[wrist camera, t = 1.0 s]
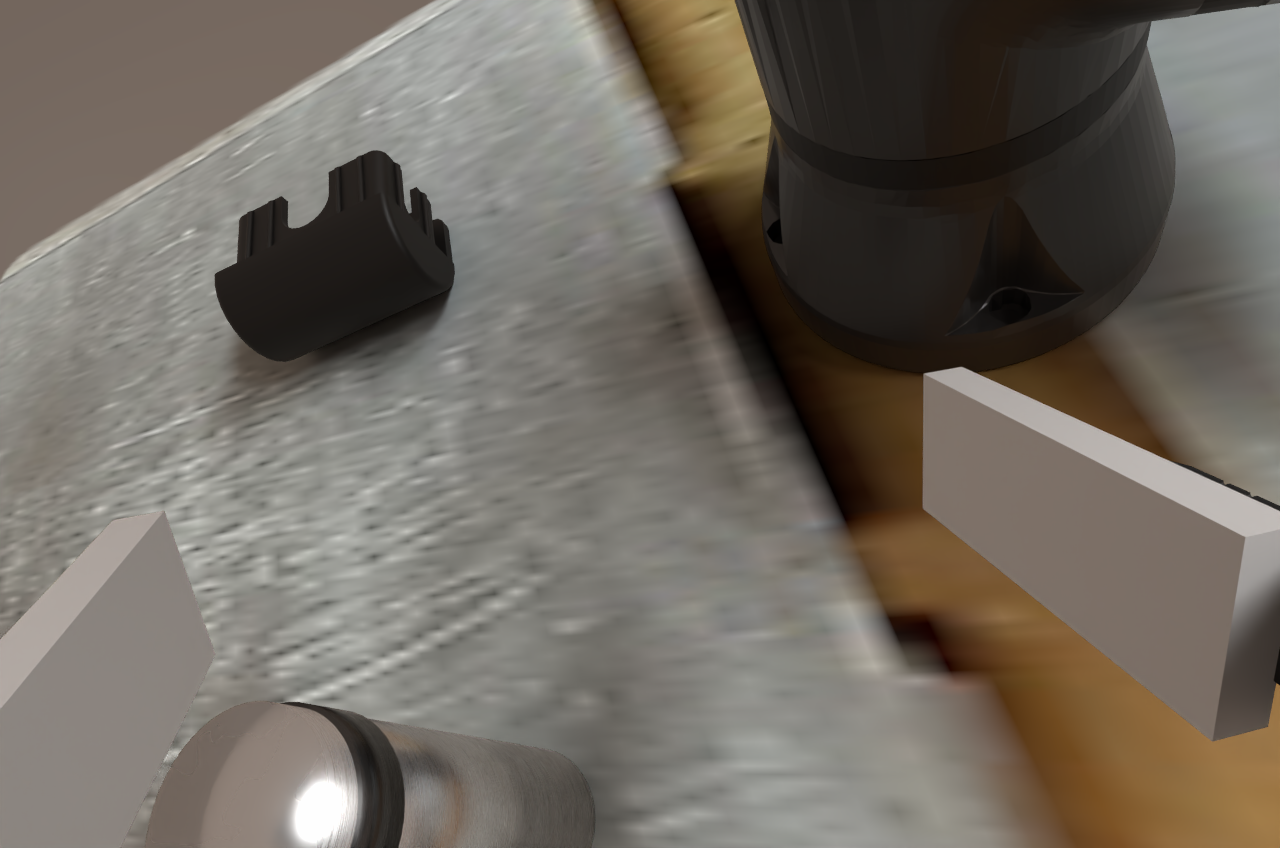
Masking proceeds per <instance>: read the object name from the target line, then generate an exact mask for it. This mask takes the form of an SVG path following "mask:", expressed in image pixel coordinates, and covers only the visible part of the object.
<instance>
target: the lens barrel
mask: <svg viewBox="0 0 1280 848" xmlns="http://www.w3.org/2000/svg"><path fill="white" fill-rule="evenodd" d="M594 830H595V809H594V803H593V798H592V795H591V791H590V789H589V786H588V784H587V782H586V780H585V778H584V776H583V774H582V773H581V772H580V770H579V769H578V768H577V767H576V766H575V764H574V763H573V762H572V761H570V760H569V759H568V758H566V757H565V756H563V755H561V754H560V753H558V752H555V751H552V750H548V749H543V748H537V747H531V746H526V745H520V744H514V743H508V742H502V741H496V740H490V739H485V738H479V737H473V736H467V735H461V734H455V733H449V732H444V731H438V730H432V729H426V728H420V727H414V726H408V725H403V724H397V723H391V722H385V721H379V720H373V719H367V718H365V717H364V716H362V715H359V714H357V713H354V712H350V711H345V710H340V709H334V708H328V707H323V706H317V705H311V704H306V703H300V702H286V703H274V702H268V701H255V702H249V703H244V704H241V705H238V706H235V707H232V708H230V709H228V710H226V711H224V712H222V713H221V714H219V715H218V716H216V717H215V718H213V719H212V720H211V721H209V722H208V723H207V724H206V725H205V726H203V727H202V728H201V729H200V730H199V731H198V732H197V733H196V734H195V735H194V736H193V737H192V738H191V739H190V741H189V742H188V743H187V744H186V746H185V747H184V748H183V749H182V751H181V752H180V754H179V755H178V757H177V758H176V760H175V761H174V763H173V764H172V766H171V768H170V770H169V771H168V773H167V775H166V777H165V779H164V781H163V783H162V786H161V788H160V790H159V792H158V795H157V798H156V801H155V804H154V806H153V810H152V813H151V817H150V821H149V825H148V831H147V836H146V844H145V848H591V845H592V842H593V836H594Z"/></svg>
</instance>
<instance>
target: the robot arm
mask: <svg viewBox="0 0 1280 848" xmlns="http://www.w3.org/2000/svg"><path fill="white" fill-rule="evenodd" d="M735 3H736V6H737V9H738V13H739V16H740V19H741V22H742V25H743V28H744V32H745V35H746V38H747V41H748V44H749V47H750V50H751V54H752V57H753V60H754V63H755V66H756V69H757V73H758V76H759V79H760V82H761V85H762V88H763V90H764V93H765V97H766V100H767V103H768V107H769V110H770V115H771V127H770V136H769V145H768V153H767V162H766V171H765V180H764V188H763V198H762V228H763V235H764V241H765V245H766V249H767V252H768V255H769V258H770V261H771V263H772V266H773V269H774V271H775V274H776V276H777V279H778V282H779V284H780V287H781V289H782V291H783V293H784V295H785V297H786V299H787V300H788V302H789V303H790V305H791V307H792V308H793V309H794V311H795V312H796V313H797V315H798V316H799V317H800V318H801V319H802V320H803V321H804V322H805V323H806V324H807V325H808V326H809V327H810V328H811V329H812V330H813V331H814V332H815V333H817V334H818V335H819V336H821V337H822V338H823V339H824V340H826V341H827V342H829V343H831V344H832V345H834V346H835V347H837V348H839V349H841V350H843V351H844V352H846V353H848V354H851V355H853V356H855V357H857V358H860V359H862V360H865V361H868V362H871V363H874V364H877V365H881V366H884V367H889V368H893V369H898V370H904V371H911V372H920V373H925V374H924V379H923V509H924V510H925V511H927V512H928V513H929V514H930V515H932V516H933V517H934V518H935V519H937V520H938V521H939V522H940V523H941V524H943V525H944V526H945V527H946V528H948V529H949V530H950V531H951V532H953V533H954V534H955V535H956V536H958V537H959V538H960V539H961V540H963V541H964V542H965V543H966V544H968V545H969V546H970V547H971V548H973V549H974V550H975V551H976V552H978V553H979V554H980V555H981V556H982V557H984V558H985V559H986V560H987V561H989V562H990V563H991V564H992V565H994V566H995V567H996V568H997V569H999V570H1000V571H1001V572H1002V573H1004V574H1005V575H1006V576H1007V577H1009V578H1010V579H1011V580H1012V581H1014V582H1015V583H1016V584H1017V585H1019V586H1020V587H1021V588H1022V589H1023V590H1025V591H1026V592H1027V593H1028V594H1030V595H1031V596H1032V597H1033V598H1035V599H1036V600H1037V601H1038V602H1040V603H1041V604H1042V605H1043V606H1045V607H1046V608H1047V609H1048V610H1050V611H1051V612H1052V613H1053V614H1055V615H1056V616H1057V617H1058V618H1060V619H1061V620H1062V621H1063V622H1064V623H1066V624H1067V625H1068V626H1069V627H1071V628H1072V629H1073V630H1074V631H1076V632H1077V633H1078V634H1079V635H1081V636H1082V637H1083V638H1084V639H1086V640H1087V641H1088V642H1089V643H1091V644H1092V645H1093V646H1094V647H1096V648H1097V649H1098V650H1099V651H1101V652H1102V653H1103V654H1104V655H1105V656H1107V657H1108V658H1109V659H1110V660H1112V661H1113V662H1114V663H1115V664H1117V665H1118V666H1119V667H1120V668H1122V669H1123V670H1124V671H1125V672H1127V673H1128V674H1129V675H1130V676H1132V677H1133V678H1134V679H1135V680H1137V681H1138V682H1139V683H1140V684H1142V685H1143V686H1144V687H1145V688H1146V689H1148V690H1149V691H1150V692H1151V693H1153V694H1154V695H1155V696H1156V697H1158V698H1159V699H1160V700H1161V701H1163V702H1164V703H1165V704H1166V705H1168V706H1169V707H1170V708H1171V709H1173V710H1174V711H1175V712H1176V713H1178V714H1179V715H1180V716H1181V717H1183V718H1184V719H1185V720H1186V721H1187V722H1189V723H1190V724H1191V725H1192V726H1194V727H1195V728H1196V729H1197V730H1199V731H1200V732H1201V733H1202V734H1204V735H1205V736H1206V737H1207V738H1209V739H1210V740H1211V741H1216V740H1220V739H1224V738H1227V737H1231V736H1235V735H1239V734H1242V733H1246V732H1250V731H1254V730H1257V729H1261V728H1265V727H1268V723H1269V718H1270V712H1271V707H1272V702H1273V697H1274V691H1275V686H1276V683H1277V684H1279V685H1280V506H1279V505H1276V504H1274V503H1272V502H1270V501H1267V500H1265V499H1263V498H1261V497H1259V496H1254V497H1251V495H1250V492H1247V491H1245V490H1243V489H1241V488H1238V487H1236V486H1234V485H1232V484H1226V485H1225V484H1224V482H1223V480H1221V479H1218V478H1216V477H1214V476H1212V475H1209V474H1207V473H1205V472H1203V471H1200V470H1198V469H1196V468H1194V467H1192V466H1188V465H1184V464H1180V463H1176V462H1172V461H1168V460H1166V459H1164V458H1162V457H1159V456H1157V455H1155V454H1153V453H1151V452H1148V451H1146V450H1144V449H1142V448H1140V447H1137V446H1135V445H1133V444H1131V443H1129V442H1126V441H1124V440H1122V439H1120V438H1118V437H1115V436H1113V435H1111V434H1109V433H1107V432H1104V431H1102V430H1100V429H1098V428H1096V427H1093V426H1091V425H1089V424H1087V423H1085V422H1082V421H1080V420H1078V419H1076V418H1074V417H1071V416H1069V415H1067V414H1065V413H1063V412H1060V411H1058V410H1056V409H1054V408H1051V407H1049V406H1047V405H1045V404H1043V403H1040V402H1038V401H1036V400H1034V399H1032V398H1029V397H1027V396H1025V395H1023V394H1021V393H1018V392H1016V391H1014V390H1012V389H1010V388H1007V387H1005V386H1003V385H1001V384H999V383H996V382H994V381H992V380H990V379H988V378H985V377H983V376H981V375H979V374H977V373H974V372H975V371H982V370H988V369H994V368H998V367H1003V366H1007V365H1011V364H1014V363H1018V362H1021V361H1025V360H1027V359H1030V358H1033V357H1036V356H1039V355H1041V354H1044V353H1046V352H1048V351H1050V350H1053V349H1055V348H1057V347H1059V346H1061V345H1063V344H1065V343H1067V342H1069V341H1071V340H1072V339H1074V338H1076V337H1077V336H1079V335H1081V334H1082V333H1084V332H1085V331H1087V330H1088V329H1090V328H1091V327H1093V326H1094V325H1095V324H1097V323H1098V322H1099V321H1101V320H1102V319H1103V318H1104V317H1106V316H1107V315H1108V314H1109V313H1110V312H1112V311H1113V310H1114V309H1115V308H1116V307H1117V306H1118V305H1119V304H1120V303H1121V302H1122V301H1123V300H1124V299H1125V298H1126V297H1127V295H1128V294H1129V293H1130V292H1131V291H1132V290H1133V288H1134V287H1135V286H1136V284H1137V283H1138V282H1139V281H1140V279H1141V278H1142V276H1143V274H1144V273H1145V271H1146V270H1147V268H1148V266H1149V264H1150V263H1151V261H1152V259H1153V257H1154V255H1155V252H1156V250H1157V247H1158V245H1159V242H1160V239H1161V235H1162V232H1163V229H1164V225H1165V222H1166V218H1167V215H1168V211H1169V208H1170V205H1171V201H1172V196H1173V191H1174V184H1175V150H1174V143H1173V139H1172V135H1171V131H1170V128H1169V124H1168V121H1167V117H1166V113H1165V109H1164V105H1163V101H1162V98H1161V94H1160V91H1159V87H1158V83H1157V80H1156V76H1155V73H1154V69H1153V66H1152V62H1151V58H1150V55H1149V51H1148V48H1147V40H1148V36H1149V31H1150V26H1151V21H1157V20H1164V19H1172V18H1180V17H1188V16H1190V15H1197V14H1204V13H1211V12H1218V11H1225V10H1232V9H1239V8H1246V7H1259V6H1261V5H1269V4H1276V3H1280V0H735ZM215 655H216V654H215V651H214V648H213V646H212V643H211V640H210V637H209V634H208V632H207V629H206V626H205V623H204V620H203V618H202V615H201V612H200V609H199V607H198V604H197V601H196V598H195V595H194V593H193V590H192V587H191V584H190V581H189V579H188V576H187V573H186V570H185V567H184V565H183V562H182V559H181V556H180V553H179V551H178V548H177V545H176V542H175V539H174V537H173V534H172V531H171V528H170V526H169V523H168V520H167V517H166V514H165V512H164V511H160V512H155V513H149V514H144V515H138V516H133V517H127V518H122V519H116V520H113V521H112V522H111V523H110V524H109V525H108V526H107V527H106V528H105V529H104V530H103V531H102V532H101V533H100V534H99V535H98V536H97V538H96V539H95V540H94V541H93V542H92V543H91V544H90V545H89V546H88V547H87V548H86V549H85V550H84V551H83V552H82V553H81V555H80V556H79V557H78V558H77V559H76V560H75V561H74V562H73V563H72V564H71V565H70V566H69V567H68V568H67V569H66V570H65V572H64V573H63V574H62V575H61V576H60V577H59V578H58V579H57V580H56V581H55V582H54V583H53V584H52V585H51V586H50V587H49V589H48V590H47V591H46V592H45V593H44V594H43V595H42V596H41V597H40V598H39V599H38V600H37V601H36V602H35V603H34V604H33V606H32V607H31V608H30V609H29V610H28V611H27V612H26V613H25V614H24V615H23V616H22V617H21V618H20V619H19V620H18V621H17V623H16V624H15V625H14V626H13V627H12V628H11V629H10V630H9V631H8V632H7V633H6V634H5V635H4V636H3V637H2V638H1V639H0V848H120V847H121V845H122V843H123V841H124V839H125V837H126V835H127V833H128V831H129V829H130V827H131V825H132V823H133V821H134V819H135V817H136V815H137V813H138V811H139V809H140V807H141V805H142V803H143V801H144V799H145V797H146V795H147V793H148V791H149V789H150V787H151V785H152V783H153V781H154V779H155V777H156V775H157V772H158V770H159V768H160V766H161V764H162V762H163V760H164V758H165V756H166V754H167V752H168V750H169V748H170V746H171V744H172V742H173V740H174V738H175V736H176V734H177V732H178V730H179V728H180V726H181V724H182V722H183V720H184V718H185V716H186V714H187V712H188V710H189V708H190V706H191V704H192V702H193V700H194V698H195V696H196V693H197V691H198V689H199V687H200V685H201V683H202V681H203V679H204V677H205V675H206V673H207V671H208V669H209V667H210V665H211V663H212V661H213V659H214V657H215Z"/></svg>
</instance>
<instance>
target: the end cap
mask: <svg viewBox="0 0 1280 848" xmlns="http://www.w3.org/2000/svg"><path fill="white" fill-rule="evenodd" d="M410 197H411V208H412V213H410V214H409V213H408V211H407V209H406V206H405V203H404V192H403V181H402V170H401V168H400V165H399V164H397V163H395V162H393V160H392V159H391V158H390V157H389V156H388V155H387V154H386V153H384V152H382V151H377V150H376V151H370V152H368V153H366V154H364V155H361V156H358V157H357V158H356V159H354V160H352V161H350V162H348V163H346V164H344V165H342V166H340V167H336V168H335V169H334V170H332V171H330V172H329V197H328V201H327V203H326V205H325V207H324V209H323V210H322V212H321V213H320V214H319V215H318V216H317V217H316V218H315V219H314V220H313V221H311V222H310V223H308V224H307V225H305V226H302V227H300V228H293V229H291V228H289V227H288V201H286V200H285V199H284V198H283V197H282V196H281V197H279V198H277V199H275V200H272V201H269V202H268V203H267V204H265V205H263V206H261V207H259V208H257V209H255V210H253V211H250V212H248V213H247V214H246V215H244V216H242V217H241V218H240V220H239V237H238V254H237V263H236V264H234V265H232V266H230V267H228V268H225V269H223V270H221V271H219V272H217V273H216V274H215V288H216V293H217V297H218V300H219V303H220V306H221V308H222V310H223V312H224V314H225V316H226V318H227V320H228V322H229V323H230V325H231V326H232V328H233V329H234V330H235V332H236V333H237V334H238V335H239V337H240V338H241V339H242V340H243V341H244V342H245V343H246V344H247V345H248V346H249V347H251V348H252V349H253V350H255V351H256V352H257V353H259V354H261V355H262V356H264V357H266V358H268V359H271V360H274V361H282V362H286V361H290V360H294V359H296V358H298V357H300V356H302V355H305V354H307V353H309V352H311V351H314V350H316V349H318V348H320V347H322V346H325V345H327V344H329V343H331V342H333V341H336V340H338V339H340V338H342V337H345V336H347V335H349V334H351V333H353V332H356V331H358V330H360V329H362V328H364V327H367V326H369V325H371V324H373V323H376V322H378V321H380V320H382V319H384V318H387V317H389V316H391V315H393V314H395V313H398V312H400V311H402V310H404V309H407V308H409V307H411V306H413V305H415V304H418V303H420V302H422V301H424V300H426V299H429V298H431V297H433V296H435V295H438V294H440V293H442V292H444V291H446V290H448V289H449V288H450V287H451V286H452V284H453V281H454V274H455V271H454V264H453V262H452V253H451V245H450V237H449V230H448V228H447V226H446V225H445V224H444V222H443V221H442V220H439V219H436V220H433V221H432V212H431V204H430V202H429V201H428V199H427V196H426V194H425V193H423V192H420V191H419V189H418V188H417V187H416V188H414V189H411V190H410Z"/></svg>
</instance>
